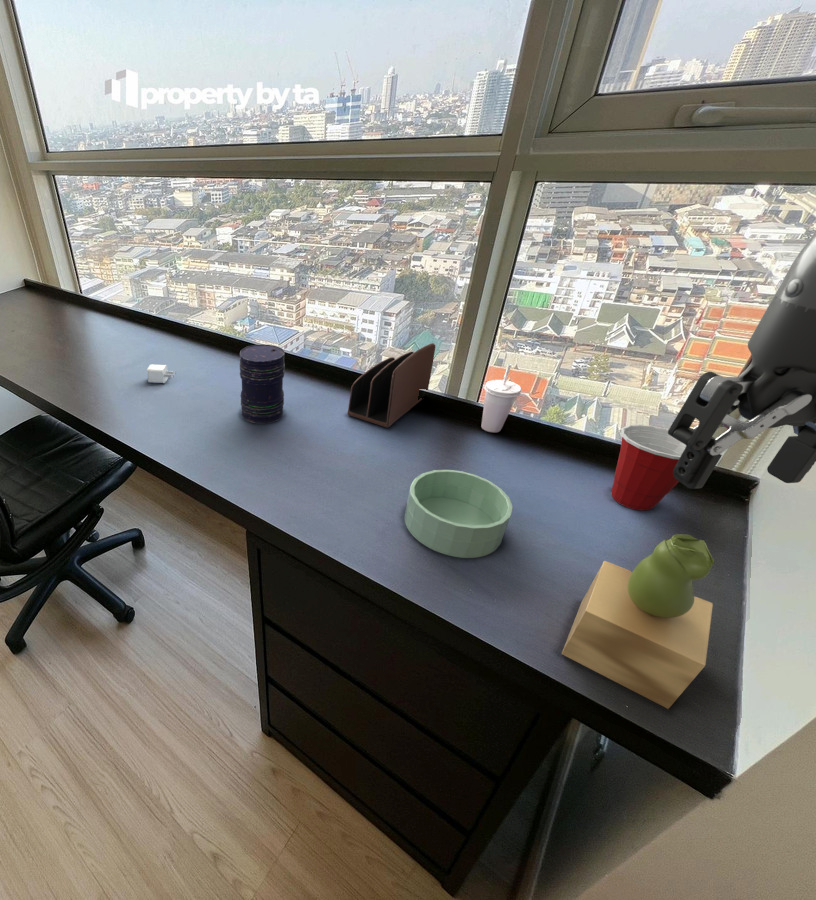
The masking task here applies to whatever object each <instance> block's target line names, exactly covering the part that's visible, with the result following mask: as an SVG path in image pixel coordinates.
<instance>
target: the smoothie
mask: <svg viewBox="0 0 816 900" xmlns="http://www.w3.org/2000/svg"><path fill="white" fill-rule="evenodd" d="M511 367H512V364H509V363H508V364H507V366H506V370H505V373H504V376H503V379H492V380H488V381H486V383H485V386H484V390H485V394H484V402H483V410H482V417H481V426H480V427H481V429H482V430H484V431H485V432H488V433H499V432H501V430H502V429H503V427H504V425H505V422H506V420H507V418H508V416H509V414H510V412H511V410H512V408H513V407H514V404H515V402H516V400H517V398H518V397H519V396H520V395H521V394H522V393H521V392H522V386H521V385H519V384H518V383H515V382H513V381H510V380H508V377H509V373H510V371H511Z"/></svg>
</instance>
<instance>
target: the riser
mask: <svg viewBox="0 0 816 900" xmlns="http://www.w3.org/2000/svg"><path fill="white" fill-rule="evenodd" d="M632 572H633V570H630V569H627V568H624V567H622V566H619V565H617V564H615V563H612V562H609V561H607V560H603V562H602V564H601V566H600V568H599V570H598V571H597V573H596V575H595V577H594V578H593V580H592V582H591V584H590V586H589V588H588V589H587V591H586V593H585V595H584V597H583V599H582V600H581V603H580V605H579V607H578V610H577V613H576V616H575V618H574V620H573V623H572V625H571V628H570V631H569V633H568V636H567V639H566V641H565V644H564V646H563V649H562V651H561V655H563V656H564V657H566V658H568V659H570V660H572V661H574V662H576V663H578V664H580V665H582V666H584V667H586V668H587V669H589V670H592V671H593V672H595V673H598V674H599V675H601V676H602V677H605V678H607V679H609V680H611V681H613V682H615V683H617V684H618V685H620V686H622V687H625V688H627V689H629V691H632V692H633V693H636V694H637V695H640V696H642V697H644V698H645V699H648V700H649V701H652V702H654V703H656V704H657V705H660V706H661V707H663V708H665V709H667V710H669V709H670V708H671V707H672V706H673V704H674V703H675V702H676V701H677V700H678V699H679V697H681V696H682V694H683V693H684V691H686V689H687V688H688V687H689V686H690V684H691V683H692V682H693V681H694V680H695V679H696V678H697V676H698V675H699V674H700V673H701V671H702V670H703V669H704V668H705V667H706V666H707V665H706V664H707V656H708V647H709V641H710V640H709V639H710V631H711V623H712V615H713V607H714V603H713V602H710V601H708V600H706V599H703V598H700V597H697V596H696V595H694V604H693V606H692V608H691V609H690V610H689V611H688V612H687V613H685V614H684V615H681V616H679V617H674V618H663V617H657V616H654V615H651V614H648V613H646V612H645V611H643V610H641V609H640V608H639V607H637V606H636V605H635V604H634V603H633V601H632V600H631V598H630V596H629V594H628V581H629V578H630V576H631V574H632Z"/></svg>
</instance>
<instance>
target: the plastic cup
mask: <svg viewBox="0 0 816 900" xmlns="http://www.w3.org/2000/svg"><path fill="white" fill-rule="evenodd" d="M668 430H669V428H666V427H661V426H657V425H650V424H649V425H648V424H640V423H639V424H638V423H637V424H627V425H625V426H622V427H621V429H620V436H621V443H620V451H619V455H618V460H617V464H616V467H615V472H614V478H613V483H612V487H611V497H612V499H613V500H614V501H616V502H617V503H618V504H620V505H621V506H624V507H626V508H628V509H632V510H635V511H650V510H652V509H653V508H654V507H656V506H657V505H659V503H660V502H661V501H662V500H663V498H665V496H666V495H668V494H670V492H671V491H672V490H673V489H674V488H675V487H676V486H677V485H678V483H680V482H679V481H678V480H676V479H675V478H674V474H673V469H674V467H675V466H676V465H677V462H678V461H679V458H680V457H681V455H682V453H683V451H684V450H685V448H686V445H685V444H683V443H682V442H680V441H678V440H677V439H675V438H674V437H672V436H670V435H669V434H668Z"/></svg>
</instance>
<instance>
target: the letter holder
mask: <svg viewBox="0 0 816 900" xmlns="http://www.w3.org/2000/svg"><path fill="white" fill-rule="evenodd" d="M435 353H436V344H435V343H429V344H426V345H424V346H423V347H421V348H418V349H417V350H415V351H409V352H406V353H403V354H402V355H400V356H398V357H397V358H395V357H394V356H391V357H388V358H386V359H383V360H382V361H380V362H379V363H377V364H375V365H373V366H372V367H371V368H369V369H367V370H366V371H365V372H364V373H363V374H361V375H360V376H359V377H358V378H357V379H356V380H355V381H354V382H353V383H352V385H351V388H350V394H349V395H350V396H349V401H348V408H347V415H348V416H350V417H353V418H356V419H359V420H362V421H365V422H367V423H371V424H374V425H377V426H380V427H383V428H386V429H389V428H390V427H391V426H392V425H393V424H395V422H397V421H398V420H399V419H400V418H401V417H403V416H404V415H405V414H406V413H407V412H409V411H410V410H411V409H413V407H415V406H416V405H417V404H418V403H420V402H421V401H422V400H423V399H422V398H420V399H419V400H418V396H419V391H420V390H419V389H426V390H428V391H429V387H430V381H431V375H432V371H433V364H434V359H435Z"/></svg>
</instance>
